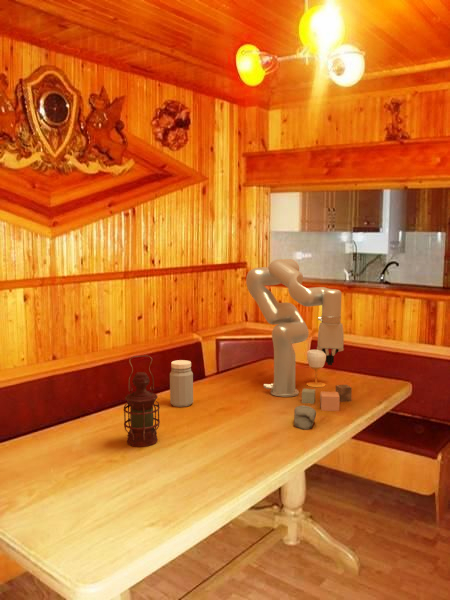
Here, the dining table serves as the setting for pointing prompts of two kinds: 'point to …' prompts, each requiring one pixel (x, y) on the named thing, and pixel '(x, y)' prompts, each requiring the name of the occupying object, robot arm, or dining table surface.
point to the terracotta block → (330, 401)
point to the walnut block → (344, 392)
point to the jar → (181, 383)
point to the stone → (304, 417)
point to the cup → (316, 365)
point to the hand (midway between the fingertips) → (329, 364)
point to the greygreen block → (308, 396)
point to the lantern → (141, 411)
